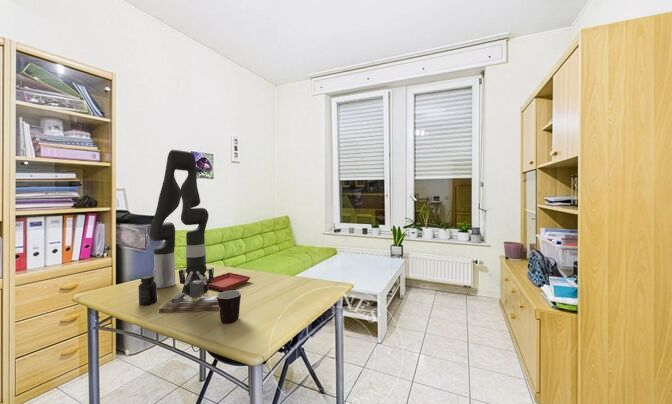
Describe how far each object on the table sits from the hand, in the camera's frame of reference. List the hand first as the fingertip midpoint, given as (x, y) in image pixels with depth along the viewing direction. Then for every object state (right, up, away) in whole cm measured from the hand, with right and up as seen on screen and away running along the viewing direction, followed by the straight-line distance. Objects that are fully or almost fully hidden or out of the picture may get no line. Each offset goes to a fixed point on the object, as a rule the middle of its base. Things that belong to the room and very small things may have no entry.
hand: (197, 292), depth 123 cm
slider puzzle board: (+1, -6, +1) cm, 6 cm away
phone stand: (-11, -5, +18) cm, 22 cm away
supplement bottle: (-23, -6, +3) cm, 24 cm away
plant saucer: (+2, -5, +29) cm, 29 cm away
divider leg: (0, -3, +1) cm, 3 cm away
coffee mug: (+19, -6, -15) cm, 25 cm away
